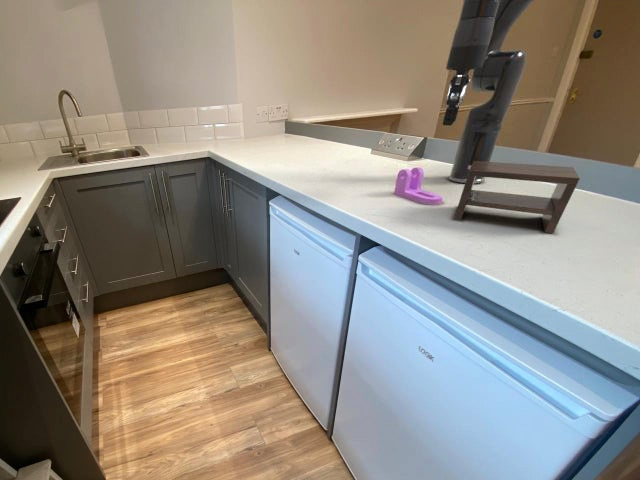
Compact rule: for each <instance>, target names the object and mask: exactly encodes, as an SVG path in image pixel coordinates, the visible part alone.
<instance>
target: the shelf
mask: <svg viewBox="0 0 640 480" xmlns="http://www.w3.org/2000/svg"><path fill="white" fill-rule="evenodd" d="M476 176H479V177H484V178H494V179H504V180H514V181H516V180H517V181H528V182H538V183H551V184H556V186H555V188H554V190H553V192H552V194H551V197H546V196H536V195H526V194H516V193H508V192H507V193H506V192H496V191H487V190H479V189H478V190H476V189H473V187H474V185H475V183H474V181H475V178H476ZM579 181H580V176H579V175H578V173H577V171H576V169H575V168H574V167H573V166H560V165H559V166H558V165H545V164H543V165H541V164H528V163H527V164H526V163H515V162H514V163H513V162H498V161H490V162H484V161H474V162H473V164H472V166H471V168H470V170H469V173H468V176H467V179H466V182H465V183H464V185H463V189H462V192H461V195H460V199H459V201H458V205H457V208H456V210H455V214H454V217H453V220H455V221H461V220H462V218H463V216H464V213H465V211H466V208H467V206H471V207H480V208H487V209H494V210H505V211H512V212H521V213H529V214H535V215H536V214H537V215H542V216H541V219H542V226H543V232H544V233H545V234H554V232H555V230H556V229H557V226H558V224H559V222H560V220H561V218H562V216H563V214H564V212H565V210H566V208H567V206H568V204H569V202H570V199H571V197H572V196H573V193H574V192H575V189H576V187H577V185H578V183H579Z"/></svg>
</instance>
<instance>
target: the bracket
mask: <svg viewBox="0 0 640 480" xmlns="http://www.w3.org/2000/svg"><path fill="white" fill-rule="evenodd" d="M424 176H425V172H424V169H423V167H414V168H412V169H411V170H410V169H409V168H405V169H400V170H399V172H398V173H397V177H396V182H395V187H394V191H393V194H394V195H396V196H399V197H402V198H405V199H408V200H410V201H414V202H416V203H419V204H423V205H429V206H437V205H441V204H442V201H443V197H444V196H442V195H440V194H437V193H434V192H430V191H427V190H423V189H422V188H421V187H422V183H423V180H424Z"/></svg>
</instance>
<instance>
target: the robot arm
mask: <svg viewBox="0 0 640 480" xmlns="http://www.w3.org/2000/svg"><path fill="white" fill-rule="evenodd" d="M533 2H534V0H463V2H462V6H461V10H460V14H459V19H458V23H457V25H456V29H455V31H454V34H453V37H452V42H451V46H450V50H449V55H448V58H447V62H446V67H445V69H446V71H455V72H456V73H455V74H453V76H452V78H451V79H450V81H449V84H448V85H449V86H448V91H447V95H446V101H445V106H446V109H445V113H444V117H443V120H442V125H443V126H452V125H453V124H454V123H455V122H456V120H457V117H458V113H459V110H460V107H461V104H462V103H463V100H464V98H465V97H466V93H467V89H468V87H469V85H470V87H471V89H472V91H473V92H478V93H479V92H480V93H486V92H489V93H491V92H492V93H493V94H492V96H491V97H490V98H489V99H488V100H487V101H486V102H484V103H481V104H479V105H476V106H473V107H471V108H469V110H468V112H467V115H466V119H465V122H464V125H463V129H462V132H461V137H460V140H459V144H458V147H457V150H456V154H455V157H454V161H453V163H452V166H451V167H452V168H451V171H450V174H449V177H448V180H449V181H451V182H455V183H460V184H465V182H466V179H467V176H468V173H469V170H470V168H471V166H472V164H473V162H474V161H484V162H491V159H492V156H493V153H494V150H495V147H496V144H497V141H498V138H499V135H500V132H501V129H502V125H503V123H504V120H505V117H506V114H507V112H508V111H509V108H510V107H511V104H512V102H513V99H514V96H515V94H516V91H517V89H518V86H519V84H520V81H521V79H522V76H523V73H524V70H525V68H526V63H527V53H526V52H525V51H524V50H522V49H509V50H502V48H503V45H504V43H505V41H506V38H507V37H508V34H509V33H510V31H511V29H512V28H513V27H514V25H515V23H516V22H517V21H518V19H519V18H520V17H521V16H522V15H523V13H524V12H525V11H526V10H527V9H528V8H529V7H530V6H531V4H532V3H533ZM471 70H472V73H471V78H470V75H469V72H470V71H471ZM484 180H485V177H479V176H476V178H475V181H474V184H482V183H483V182H484Z"/></svg>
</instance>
